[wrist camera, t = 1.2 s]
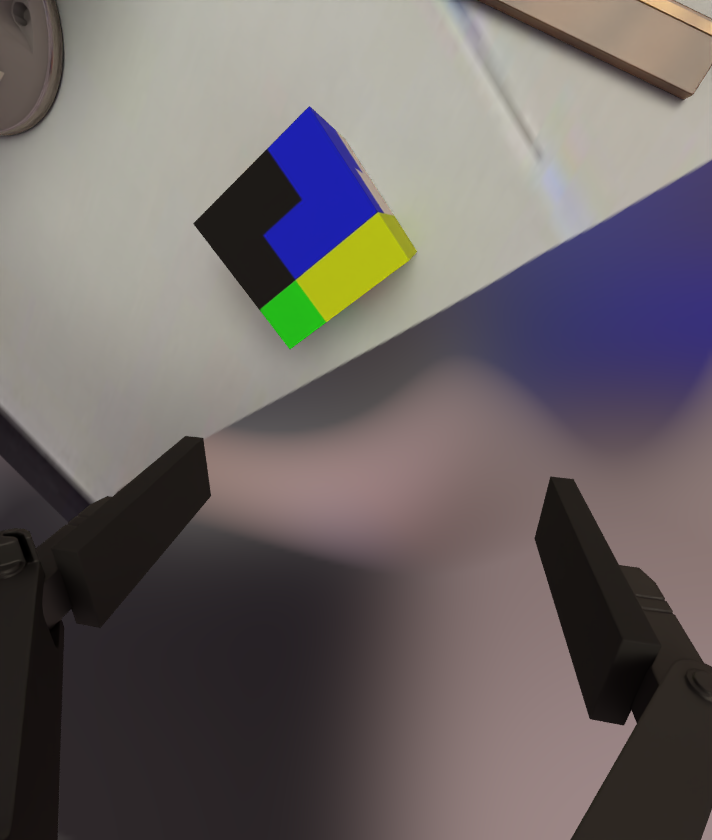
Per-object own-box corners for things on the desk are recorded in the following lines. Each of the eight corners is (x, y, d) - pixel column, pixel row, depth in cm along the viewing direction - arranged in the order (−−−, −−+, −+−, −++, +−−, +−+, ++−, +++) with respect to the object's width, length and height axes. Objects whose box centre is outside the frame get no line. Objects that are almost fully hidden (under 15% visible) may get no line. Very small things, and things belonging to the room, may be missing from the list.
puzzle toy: (344, 138, 33) (309, 105, 24) (417, 251, 35) (409, 260, 26) (253, 224, 37) (193, 223, 28) (324, 321, 39) (289, 349, 30)
